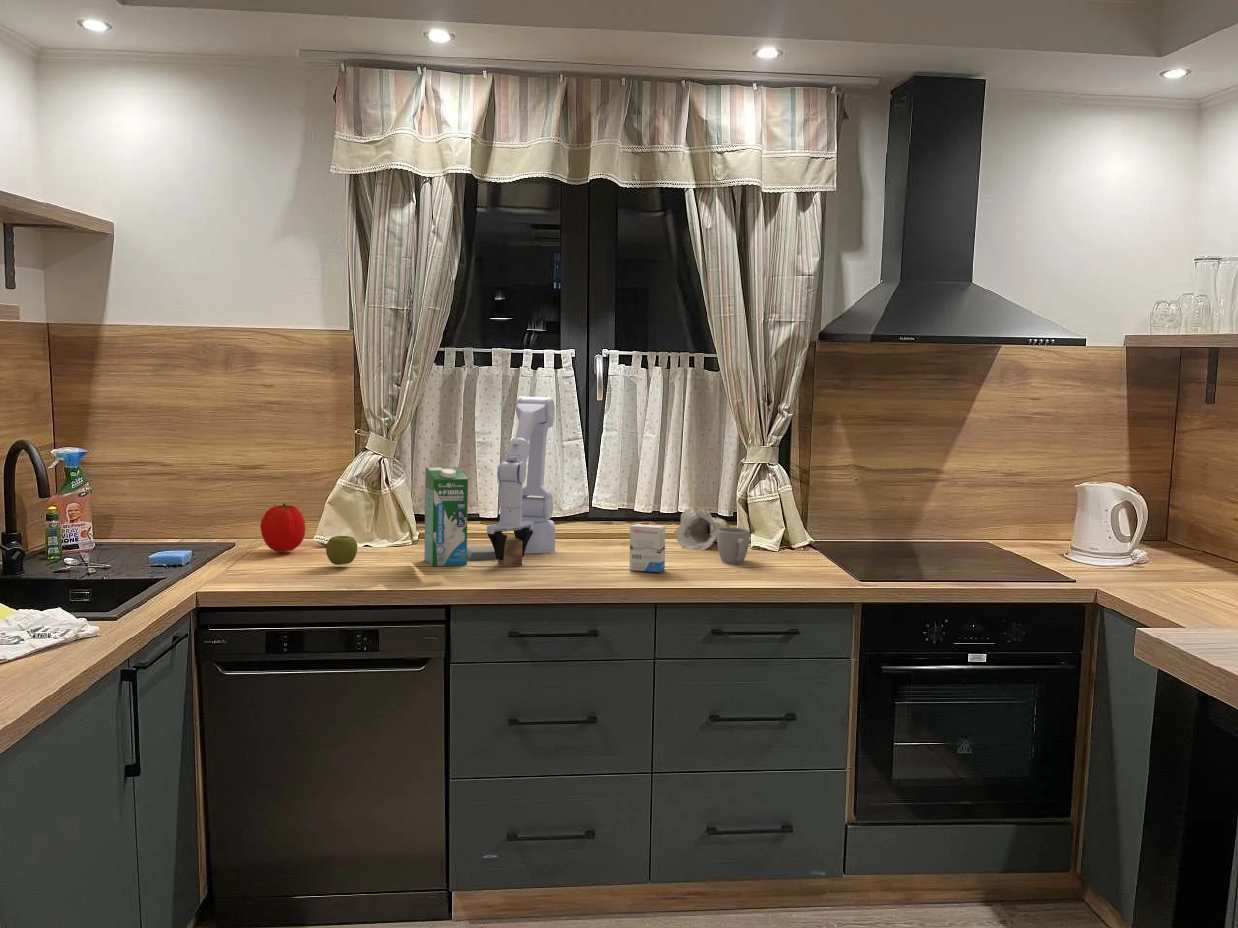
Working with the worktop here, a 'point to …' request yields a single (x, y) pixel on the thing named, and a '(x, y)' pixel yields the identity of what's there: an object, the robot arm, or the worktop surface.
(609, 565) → the worktop surface
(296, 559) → the worktop surface
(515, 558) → the walnut block
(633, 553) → the ink box
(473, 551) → the coaster block
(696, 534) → the wavy rim vase
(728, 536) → the mug
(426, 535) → the milk carton
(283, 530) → the tomato
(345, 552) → the apple
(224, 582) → the worktop surface
